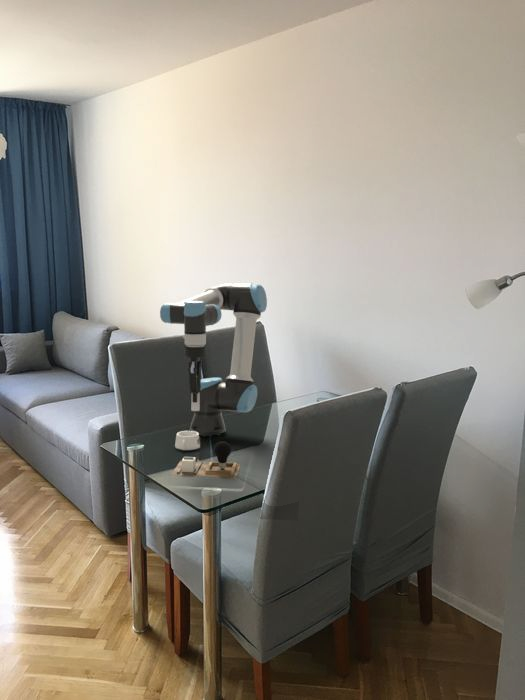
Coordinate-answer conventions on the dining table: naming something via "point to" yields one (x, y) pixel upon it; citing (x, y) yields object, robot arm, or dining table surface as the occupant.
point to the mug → (187, 440)
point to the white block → (188, 464)
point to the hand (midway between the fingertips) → (195, 410)
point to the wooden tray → (210, 469)
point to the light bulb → (222, 453)
